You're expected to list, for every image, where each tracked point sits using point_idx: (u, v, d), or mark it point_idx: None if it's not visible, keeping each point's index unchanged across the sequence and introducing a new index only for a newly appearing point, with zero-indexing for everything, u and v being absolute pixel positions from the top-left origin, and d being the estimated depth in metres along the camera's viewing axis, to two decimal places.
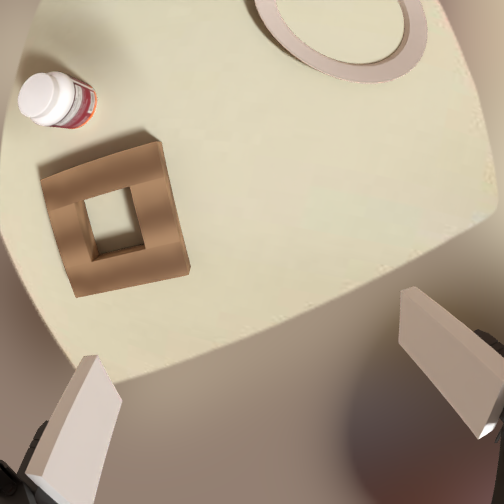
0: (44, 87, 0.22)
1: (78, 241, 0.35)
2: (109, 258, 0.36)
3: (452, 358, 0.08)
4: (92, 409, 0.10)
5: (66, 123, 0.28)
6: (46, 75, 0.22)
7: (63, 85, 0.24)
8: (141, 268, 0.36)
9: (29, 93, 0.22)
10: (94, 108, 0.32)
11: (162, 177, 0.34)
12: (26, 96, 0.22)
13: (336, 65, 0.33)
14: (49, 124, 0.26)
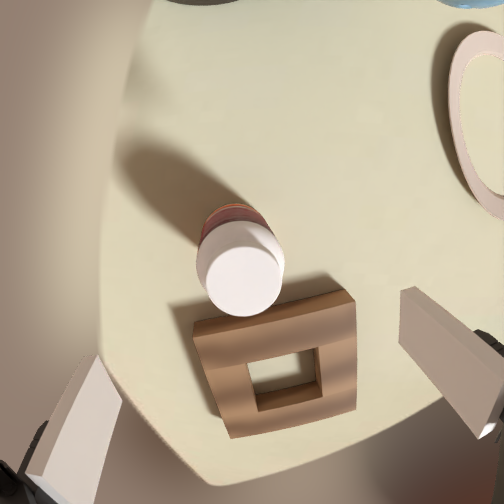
0: (264, 275, 0.19)
1: (245, 396, 0.32)
2: (280, 407, 0.33)
3: (452, 358, 0.08)
4: (92, 409, 0.10)
5: None
6: (266, 255, 0.19)
7: (276, 257, 0.21)
8: (313, 411, 0.34)
9: (232, 279, 0.19)
10: None
11: (354, 336, 0.31)
12: (225, 282, 0.19)
13: (498, 203, 0.30)
14: None
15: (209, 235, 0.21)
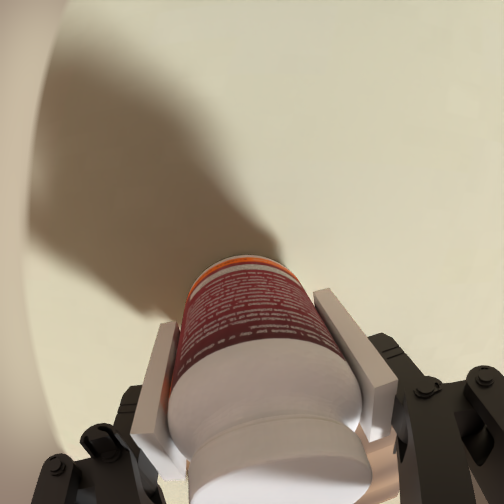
0: (334, 489, 0.06)
1: None
2: None
3: None
4: None
5: None
6: (350, 462, 0.05)
7: (351, 416, 0.08)
8: None
9: (255, 503, 0.06)
10: None
11: None
12: None
13: None
14: None
15: (192, 377, 0.08)
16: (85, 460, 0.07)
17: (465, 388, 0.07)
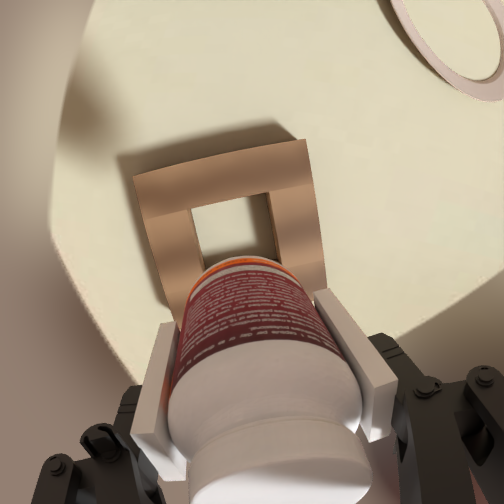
0: (334, 490, 0.06)
1: (189, 259, 0.29)
2: None
3: None
4: None
5: None
6: (350, 464, 0.05)
7: (352, 417, 0.08)
8: None
9: None
10: None
11: (311, 183, 0.28)
12: None
13: (460, 79, 0.28)
14: None
15: (192, 378, 0.08)
16: (85, 460, 0.07)
17: (465, 388, 0.07)
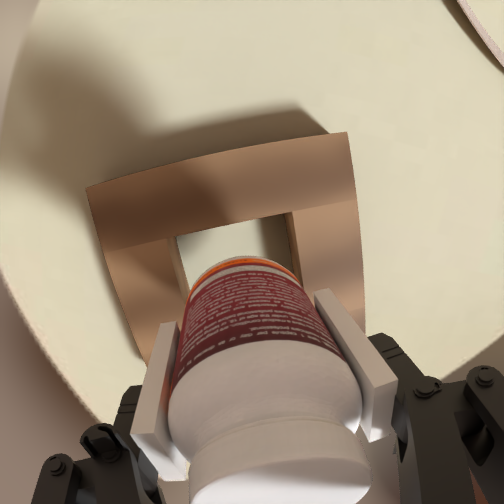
0: (334, 490, 0.06)
1: (172, 310, 0.20)
2: None
3: (345, 359, 0.10)
4: None
5: None
6: (350, 464, 0.05)
7: (352, 418, 0.08)
8: None
9: None
10: None
11: (353, 199, 0.19)
12: None
13: None
14: None
15: (193, 378, 0.08)
16: (85, 460, 0.07)
17: (465, 388, 0.07)
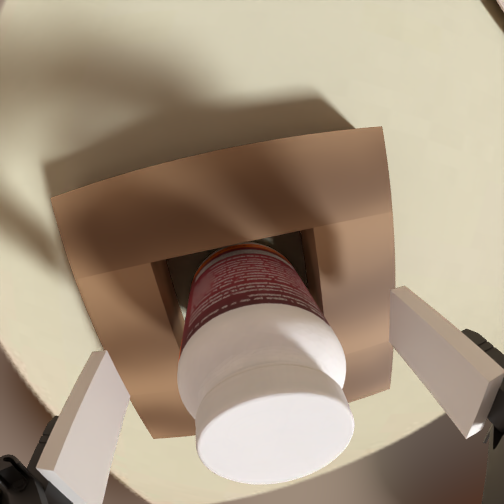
0: (321, 433, 0.08)
1: (161, 349, 0.15)
2: None
3: (440, 357, 0.09)
4: (102, 404, 0.10)
5: None
6: (332, 403, 0.07)
7: (336, 374, 0.10)
8: None
9: (253, 445, 0.08)
10: None
11: (389, 212, 0.14)
12: (238, 449, 0.08)
13: None
14: None
15: (200, 336, 0.10)
16: None
17: None
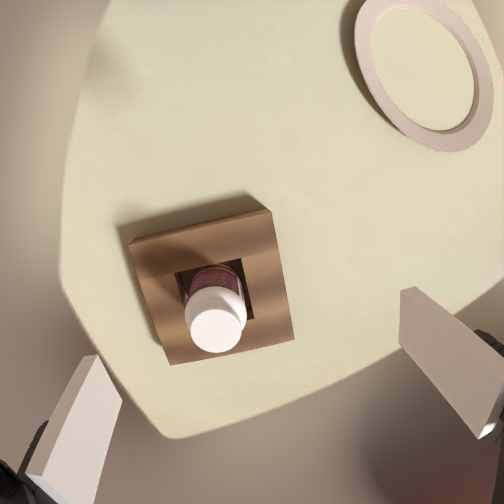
0: (228, 327, 0.28)
1: (177, 311, 0.35)
2: None
3: (452, 358, 0.08)
4: (92, 409, 0.10)
5: None
6: (229, 314, 0.27)
7: (239, 312, 0.30)
8: (248, 336, 0.37)
9: (207, 329, 0.28)
10: None
11: (276, 249, 0.35)
12: (203, 331, 0.28)
13: (426, 134, 0.35)
14: None
15: (193, 297, 0.30)
16: None
17: None
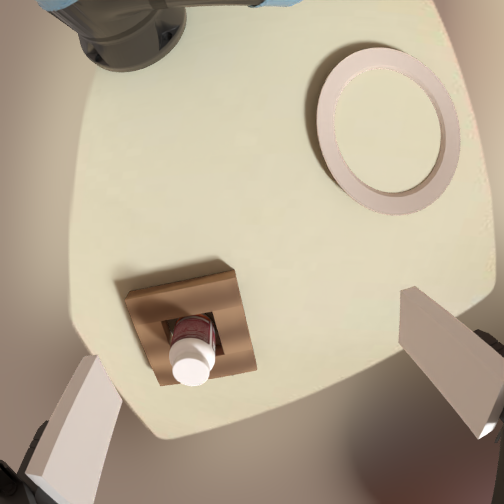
0: (200, 370, 0.37)
1: (164, 348, 0.44)
2: None
3: (452, 358, 0.08)
4: (92, 409, 0.10)
5: None
6: (200, 362, 0.36)
7: (209, 357, 0.39)
8: (220, 367, 0.46)
9: (184, 371, 0.36)
10: None
11: (240, 305, 0.43)
12: (181, 372, 0.36)
13: (382, 199, 0.43)
14: None
15: (174, 345, 0.39)
16: None
17: None
